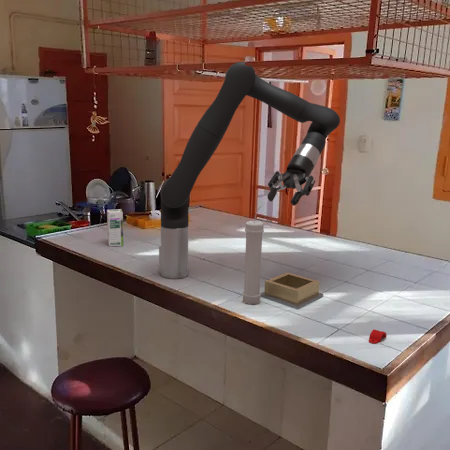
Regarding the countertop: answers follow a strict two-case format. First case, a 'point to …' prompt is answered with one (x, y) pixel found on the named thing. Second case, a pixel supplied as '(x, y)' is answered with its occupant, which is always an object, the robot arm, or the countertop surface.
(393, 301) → the countertop surface
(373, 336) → the pipe clamp
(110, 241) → the syrup box
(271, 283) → the socket
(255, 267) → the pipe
